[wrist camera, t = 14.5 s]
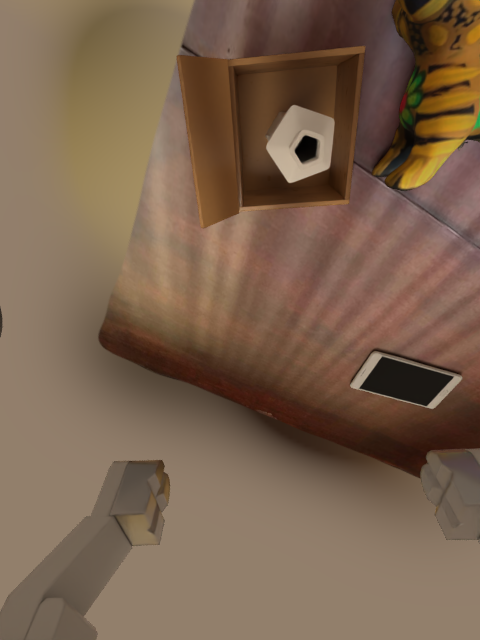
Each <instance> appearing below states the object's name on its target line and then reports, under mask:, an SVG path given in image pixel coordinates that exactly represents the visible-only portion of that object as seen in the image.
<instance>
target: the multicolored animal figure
mask: <svg viewBox="0 0 480 640" xmlns="http://www.w3.org/2000/svg"><path fill="white" fill-rule="evenodd" d="M392 16H393V19H394V22H395V25H396V29H397V32H398V33H399V35H400V36H401V37H402V38H404V40H405V42H406V43H407V44H408V45H409V47H410V48H411V49H412V51H413V53H414V56H415V69H414V72H413V74H412V76H411V78H410V80H409V83H408V86H407V89H406V91H405V94H404V96H403V99H402V102H401V105H400V109H399V118H400V123H399V127H398V128H397V130H396V133H395V137H394V140H393V143H392V145H391V147H390V149H389V151H388V152H387V154H386V155H385V156H384V157H383V158H382V159H381V160H380V161H379V163H378V164H377V165H376V166H375V168H374V169H373V171H372V175H373V176H376V177H386V176H387V177H386V179H385V184H386V185H387V186H388V187H390V188H392V189H397V190H401V191H407V190H412V189H414V188H417V187H419V186H421V185H424V184H425V183H427V182H428V181H429V180H430V179H431V178H432V177H433V176H434V175H435V173H436V172H437V171H438V169H439V168H440V167H441V166H442V164H443V163H444V162H445V161H446V160H447V159H448V157H449V156H450V155H451V154H452V153H453V152H454V151H455V150H456V149H457V148H458V150H460V149H461V148H462V146H463V145H464V143H468V142H464V141H465V140H474V141H478V142H480V0H396V1H395V3H394V7H393V9H392Z"/></svg>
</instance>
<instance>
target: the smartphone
mask: <svg viewBox="0 0 480 640" xmlns="http://www.w3.org/2000/svg"><path fill="white" fill-rule="evenodd" d="M461 380H462V376H461V375H459V374H456V373H452V372H449V371H445V370H442V369H438V368H435V367H431V366H428V365H424V364H421V363H417V362H414V361H411V360H406V359H404V358H400V357H397V356H392V355H389V354H385V353H382V352H378V351H373V352H372V353H371V355H370V356H369V358H368V359H367V360H366V362H365V363H364V365H363V366H362V368H361V369H360V370H359V372H358V373H357V375H356V376H355V378H354V379H353V381H352V382H351V383H350V386H351V387H352V388H355V389H359V390H363V391H366V392H370V393H374V394H378V395H382V396H385V397H389V398H393V399H397V400H401V401H404V402H408V403H412V404H416V405H420V406H423V407H427V408H431V409H433V408H435V407H436V406H437V405H438V404H439V403H440V402H441V401H442V400H443V399H444V398H445V397H446V396H447V394H448V393H449V392H450V391H451V390H452V389H453V388H454V387H455V386H456V385H457V384H458V383H459V382H460V381H461Z"/></svg>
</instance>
